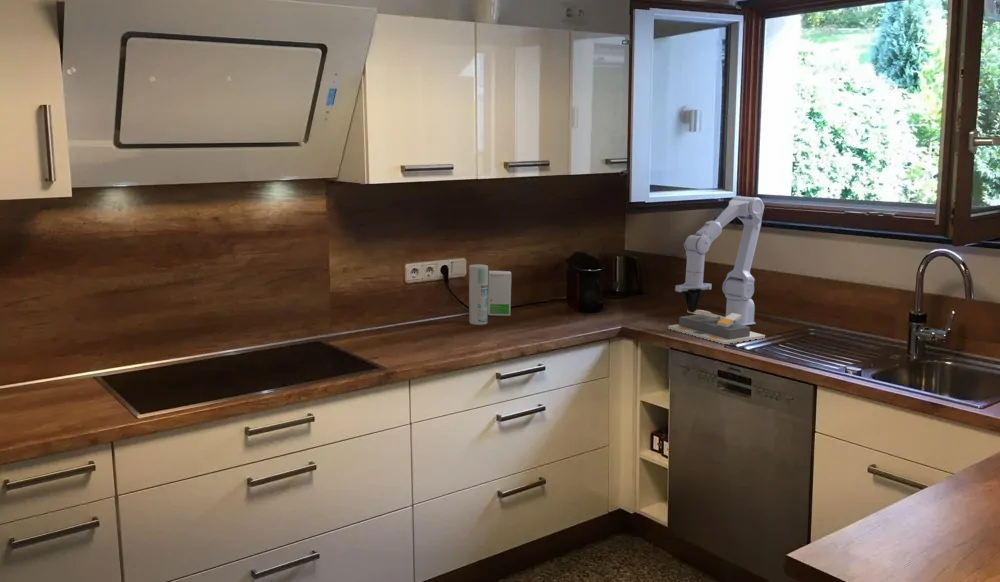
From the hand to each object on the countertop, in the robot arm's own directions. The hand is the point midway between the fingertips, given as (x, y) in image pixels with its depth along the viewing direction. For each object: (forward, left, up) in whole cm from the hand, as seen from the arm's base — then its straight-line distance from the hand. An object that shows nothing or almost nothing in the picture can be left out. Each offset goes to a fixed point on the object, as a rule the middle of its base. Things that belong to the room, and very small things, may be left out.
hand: (691, 311), depth 288 cm
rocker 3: (-3, +14, -1) cm, 14 cm away
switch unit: (-4, +7, -7) cm, 10 cm away
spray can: (+56, -46, -7) cm, 73 cm away
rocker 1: (-3, 0, -1) cm, 3 cm away
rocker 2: (-3, +7, -1) cm, 8 cm away
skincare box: (+42, -55, -7) cm, 69 cm away
